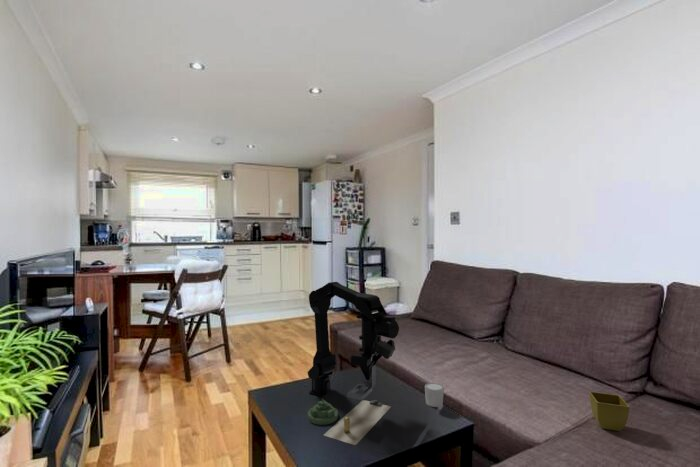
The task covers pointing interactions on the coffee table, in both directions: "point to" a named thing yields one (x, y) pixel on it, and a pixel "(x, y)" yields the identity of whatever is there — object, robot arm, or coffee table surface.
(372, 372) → the end link
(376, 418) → the tie-down board
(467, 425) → the coffee table surface
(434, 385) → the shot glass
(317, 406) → the decorative artifact
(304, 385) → the coffee table surface
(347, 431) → the keeper post
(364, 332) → the robot arm
